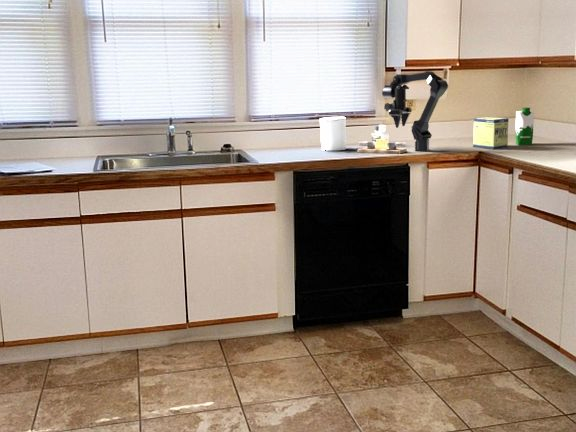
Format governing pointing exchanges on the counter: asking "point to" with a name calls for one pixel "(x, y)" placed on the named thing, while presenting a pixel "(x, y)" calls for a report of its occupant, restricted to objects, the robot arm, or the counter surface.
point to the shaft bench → (390, 150)
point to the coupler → (381, 144)
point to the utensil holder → (333, 133)
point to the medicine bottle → (380, 133)
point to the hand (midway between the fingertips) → (400, 126)
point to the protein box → (490, 133)
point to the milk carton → (524, 126)
